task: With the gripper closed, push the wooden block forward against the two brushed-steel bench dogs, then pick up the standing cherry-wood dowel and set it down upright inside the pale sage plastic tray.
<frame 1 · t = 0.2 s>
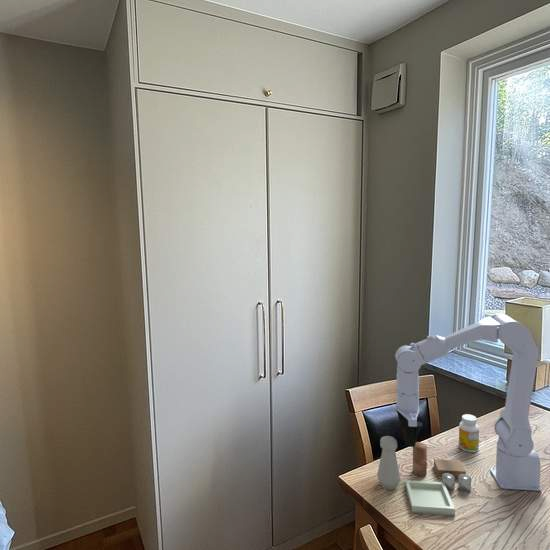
hand: (407, 438, 109), 10 cm above the table, fingers open, 7 cm apart
supplement bottle: (468, 448, 120), on the table
tray: (428, 500, 98), on the table
dowel: (419, 472, 109), on the table
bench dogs: (456, 487, 103), on the table
salt shaker: (388, 485, 105), on the table
wooden block: (449, 473, 109), on the table
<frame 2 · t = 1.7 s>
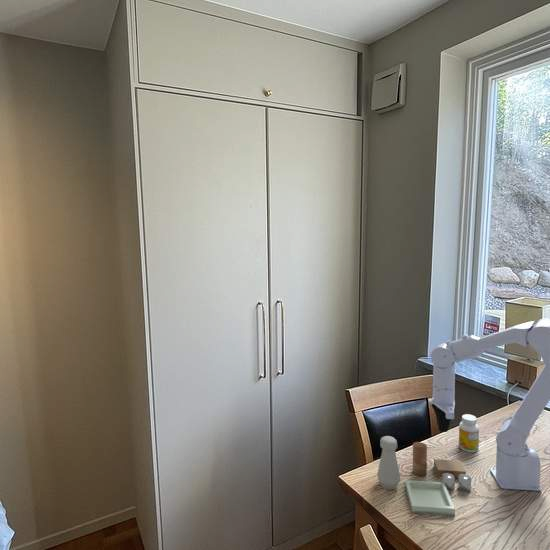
hand: (442, 430, 115), 8 cm above the table, fingers closed
nothing on the table moved.
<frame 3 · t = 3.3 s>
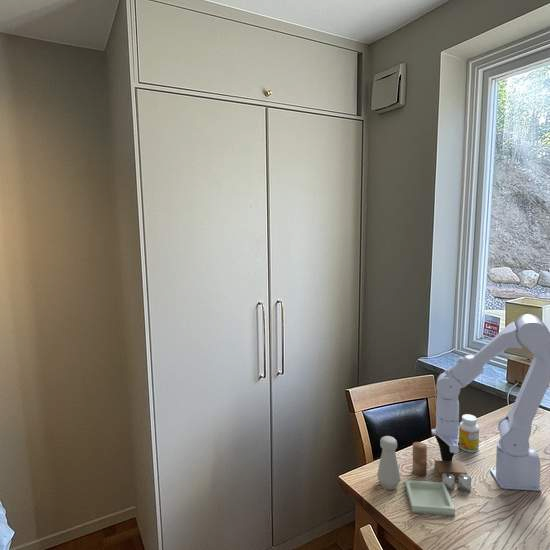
hand: (446, 462, 112), 1 cm above the table, fingers closed
nothing on the table moved.
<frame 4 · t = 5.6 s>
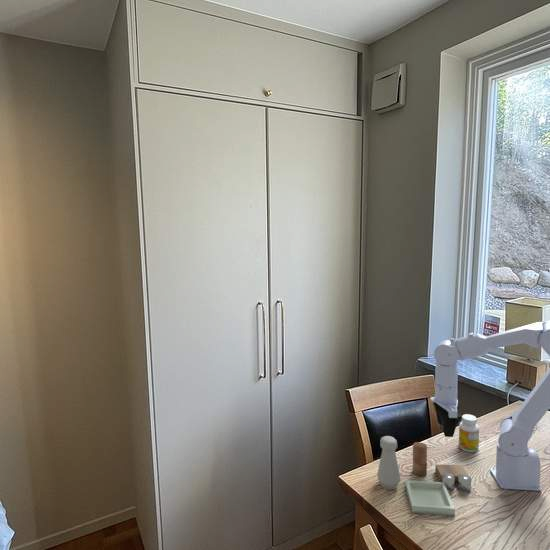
hand: (445, 429, 112), 10 cm above the table, fingers open, 6 cm apart
wooden block: (451, 478, 107), on the table
everything else where it was.
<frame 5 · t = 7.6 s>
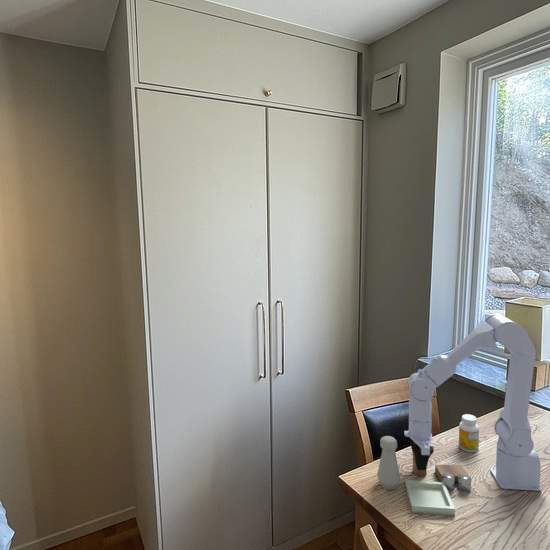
hand: (419, 464, 109), 2 cm above the table, fingers closed on dowel, 4 cm apart
dowel: (419, 472, 109), on the table, touching gripper
everything else where it was.
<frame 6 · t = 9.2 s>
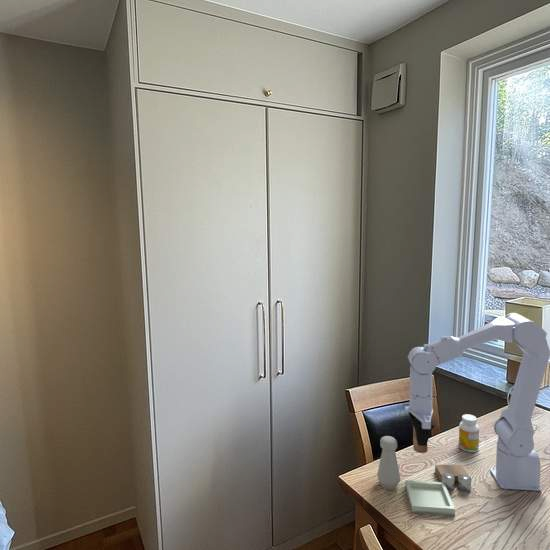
hand: (420, 440, 107), 10 cm above the table, fingers closed on dowel, 4 cm apart
dowel: (420, 449, 108), point 7 cm above the table, touching gripper
everything else where it was.
when the fingers open (5 cm above the table, at t = 11.1 s): dowel drops 2 cm, resting on tray.
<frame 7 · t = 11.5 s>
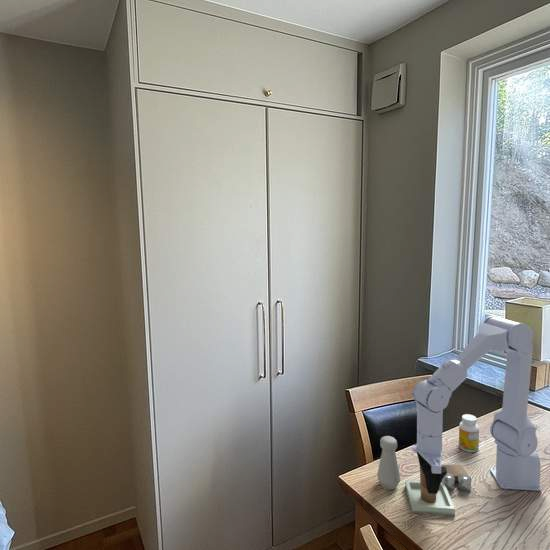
hand: (428, 482, 98), 5 cm above the table, fingers open, 7 cm apart
dowel: (428, 497, 98), point 1 cm above the table, touching tray
everything else where it was.
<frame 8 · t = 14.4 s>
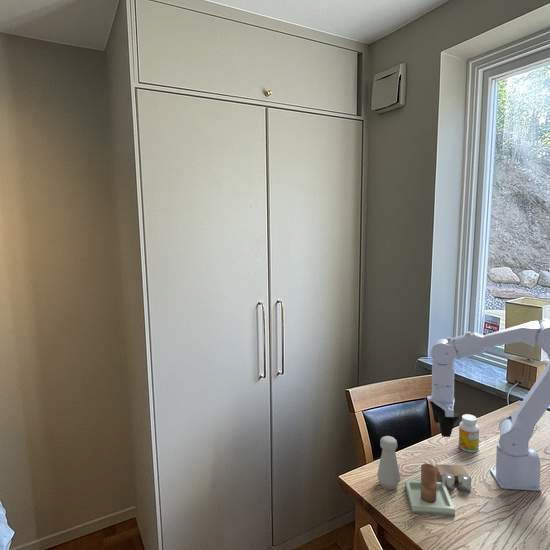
hand: (442, 429, 112), 10 cm above the table, fingers open, 7 cm apart
nothing on the table moved.
at the end: dowel 0.1 cm off-centre on the tray, point 0.6 cm above the tray's base; dowel tilted 0°; wooden block 0.3 cm from the target spot, on the table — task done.
